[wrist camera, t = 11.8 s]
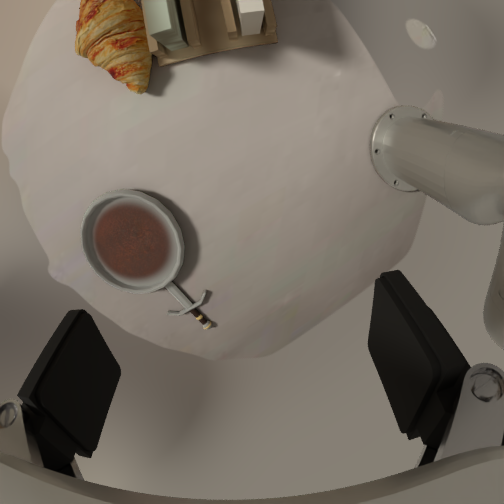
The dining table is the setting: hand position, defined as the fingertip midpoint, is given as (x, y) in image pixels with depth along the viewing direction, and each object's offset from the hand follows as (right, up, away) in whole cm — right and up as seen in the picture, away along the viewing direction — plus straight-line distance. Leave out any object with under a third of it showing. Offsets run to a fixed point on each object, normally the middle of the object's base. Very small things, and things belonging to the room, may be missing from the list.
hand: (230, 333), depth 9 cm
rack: (-5, +33, +19) cm, 39 cm away
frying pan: (-14, 0, +36) cm, 39 cm away
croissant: (-17, +32, +20) cm, 41 cm away
